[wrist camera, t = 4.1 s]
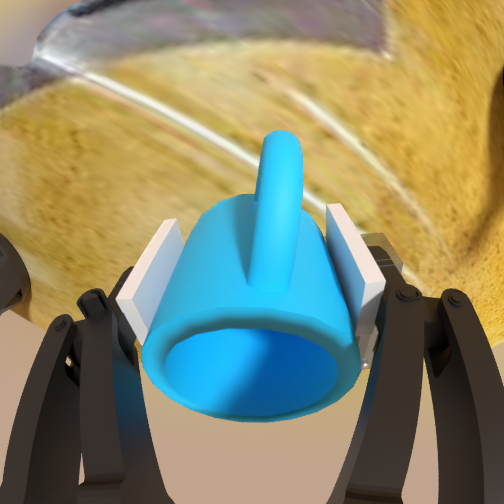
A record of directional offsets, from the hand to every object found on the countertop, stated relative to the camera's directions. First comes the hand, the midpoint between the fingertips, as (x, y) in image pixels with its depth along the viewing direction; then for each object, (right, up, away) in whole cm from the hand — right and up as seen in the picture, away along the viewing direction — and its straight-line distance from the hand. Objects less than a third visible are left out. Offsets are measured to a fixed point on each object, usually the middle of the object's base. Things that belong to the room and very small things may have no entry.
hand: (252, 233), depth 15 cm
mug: (0, 0, 0) cm, 1 cm away
